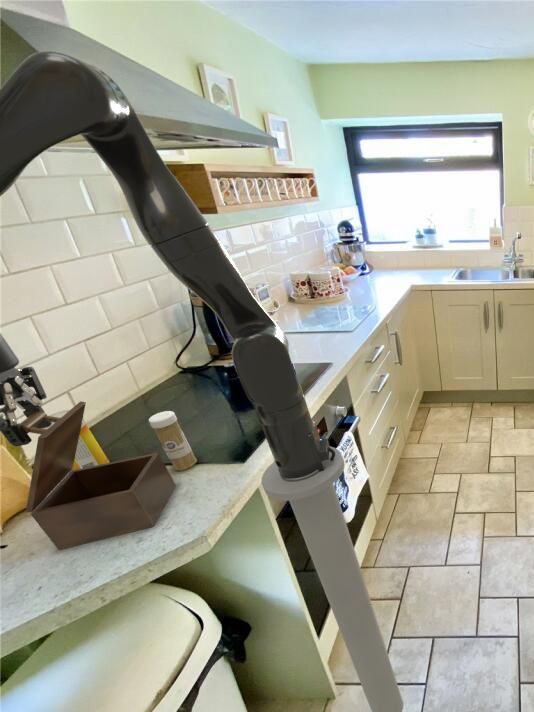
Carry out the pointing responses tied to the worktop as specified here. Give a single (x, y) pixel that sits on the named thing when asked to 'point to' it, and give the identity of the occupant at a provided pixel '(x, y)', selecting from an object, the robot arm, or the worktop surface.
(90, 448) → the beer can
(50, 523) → the chest
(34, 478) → the chest lid
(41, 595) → the worktop surface
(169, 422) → the sprinkles bottle
